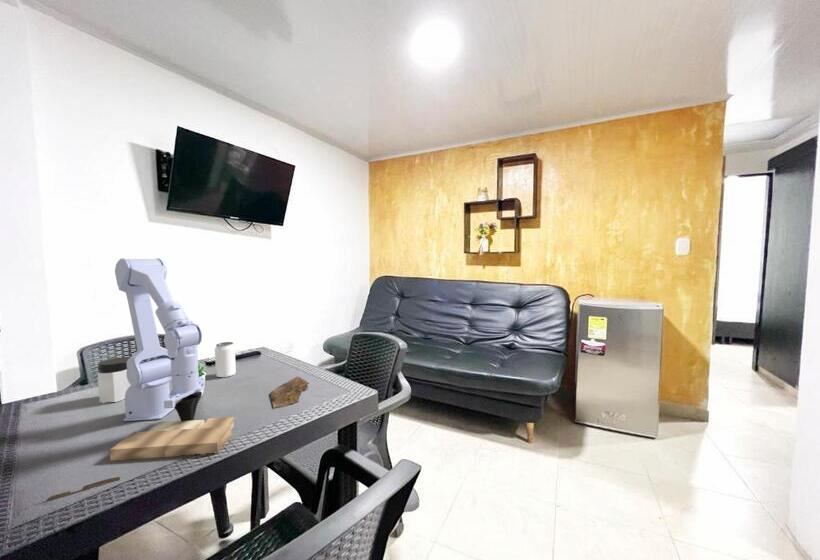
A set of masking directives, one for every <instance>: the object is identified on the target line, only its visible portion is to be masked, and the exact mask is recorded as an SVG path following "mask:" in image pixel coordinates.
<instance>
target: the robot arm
mask: <svg viewBox="0 0 820 560" xmlns="http://www.w3.org/2000/svg"><path fill="white" fill-rule="evenodd" d="M167 270H168V269H167V265H166V262H165V261H164V260H163V259H162V258H160V257H159V258H122V257H121V258H120V259H119V260H118V261H117V262H116V264H115V268H114V275H115V279H116V285H117V287H118V291H121V292H123V293H125V295H126V300H127V304H128V309H129V313H130V320H131V324H132V328H133V334H134V340H135V343H136V345H135V346H136V349H137V351H135V352H134V353H133V355H132V356H129V357H130V358H129V359H128V361H127V379H128V382H129V384H130V385H131V386H130V387H129V388H128V389H127V391H126V393H125V400H124V406H125V407H124V408H125V412H124V413H125V418H124V419H123V421H124V422H130V421H131V422H133V421H148V420H150V421H151V420H161V419H163V418H164V417H165V416H167V415H168V414H169V413H170V412H172V411H174V410H176V412H177V414H178V417H179V419H180V421H191V420H195V416H196V411H197V407H198V404H199V402H200V399H201V397H202V396H203V392H202V391H203V390H204V389H205V387H204V386H205V385H206V378H205V377H200V376H199V359H198V358H199V357H198V355H199V354H198V353H199V352H198V345H200V344H201V343H202V340H203V333H202V330H201V327H200V326H199V324H197V323H195V322H194V321H193V320H190V319H189V317H188V316H187V313H186V311H185V310H184V307H183V306H182V304H181V303H180V302H178V301H174V300H173V297H172V295H171V292H170V289H169V287H168V284H167V282H166V278H167V274H168V273H167V272H168V271H167ZM151 299H152V300H153V302H154V303H155V305H156V307H157V308H156V310H155V311H153V304H152V300H151ZM154 312H155V315H156V317H157V319H158V321H159V323H160V325H161V327H162V329H163V331H164V338H163V341H164V342H163V343H164V345H165V347H166V348H165V347H163V346H161V344H160V340H159V334H158V330H157V325H156V320H155V316H154ZM153 358H154V359H153ZM149 359H150V360H149ZM145 360H146V361H145ZM170 381H171V388H172V389H171V390H170Z"/></svg>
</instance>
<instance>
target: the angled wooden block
mask: <svg viewBox="0 0 820 560" xmlns="http://www.w3.org/2000/svg"><path fill="white" fill-rule="evenodd" d="M234 420H235V419H234V416H226V417H223V416H222V417H210V418H208V419H207V420H206V421H204V424H203V425H202V426H201V427H200V428H197V429H180V430H164V431H148V430H147V431H135V432H132V433H131V434H129V435H128V436H126V437H125V438H124V439H122V440H121V441H120V442H118V443H117V444H115V446H112V447H111V448H110V449H109V457H110V462H111V461H113V462H114V461H126V460H137V459H139V460H141V459H152V458H153V459H157V458H168V457H182V456H181V455H186V456H196V455H195V454H200V455H207V454H206V453H215V452H218V451H219V450H220V449H221V447H222V446H223V445H224V444H225V443H226V444H227V443H228V441H229V440H230V439H231V438H232V429H233V428H234V427H235V421H234ZM230 437H231V438H230ZM229 438H230V439H229ZM228 439H229V440H228ZM226 444H225V445H226ZM225 445H224V446H225ZM224 446H223V447H224ZM223 447H222V448H223ZM221 450H222V449H221ZM221 450H220V451H221ZM220 451H219V452H220ZM219 452H218V453H219ZM215 454H216V453H215Z"/></svg>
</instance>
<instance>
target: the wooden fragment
mask: <svg viewBox="0 0 820 560" xmlns="http://www.w3.org/2000/svg"><path fill="white" fill-rule="evenodd" d="M308 385H309V382H308V381H307V380H305V379H303V378H302V377H300V376H295V377H294V378H292V379H290V380H288V381H286V382H285V383H282V384H281V385H279V386H277V387H276V388H275V389H273V390H272V391H270V393H269V396H270V398H271V404H272V406H273V410H275V409H280V408H285V407H287V406H290V405H293V404H296V403H299V399H300V396H301V393H302V392H304V391H305V390H307V389H308V388H309V387H308Z"/></svg>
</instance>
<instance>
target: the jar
mask: <svg viewBox="0 0 820 560" xmlns="http://www.w3.org/2000/svg"><path fill="white" fill-rule="evenodd" d="M130 357H131V356H124V357H123V356H121V357H115V358H110V359H106V360H102V361H100V362H99V363H98V364H97V371H98V373H97V385H98V399H99V403H100V402H116V403H118V402H117V401H119V402H121V401H120V400H122V401H124V400H123V399H125V393H126V391H127V389H128V388H129V387H130V386H131V385H130V384H129V382H128V379H127V361H128V359H129V358H130Z"/></svg>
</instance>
